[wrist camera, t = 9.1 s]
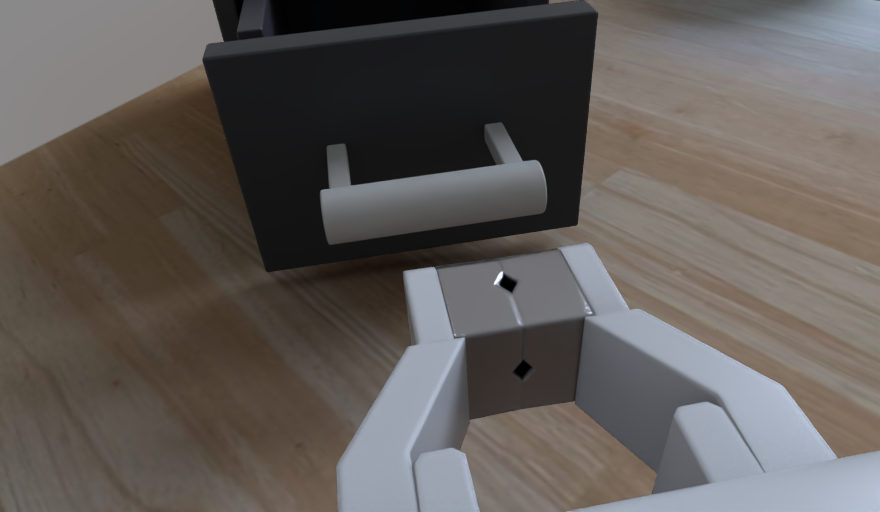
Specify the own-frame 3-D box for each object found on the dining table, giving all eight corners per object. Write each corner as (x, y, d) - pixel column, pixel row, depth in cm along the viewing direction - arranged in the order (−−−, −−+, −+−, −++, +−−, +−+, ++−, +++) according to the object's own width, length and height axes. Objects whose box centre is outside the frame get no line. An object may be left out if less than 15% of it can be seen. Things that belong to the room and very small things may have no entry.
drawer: (623, 303, 20) (663, 67, 15) (260, 363, 19) (178, 129, 14) (493, 79, 34) (492, -84, 29) (276, 107, 33) (238, -58, 28)
